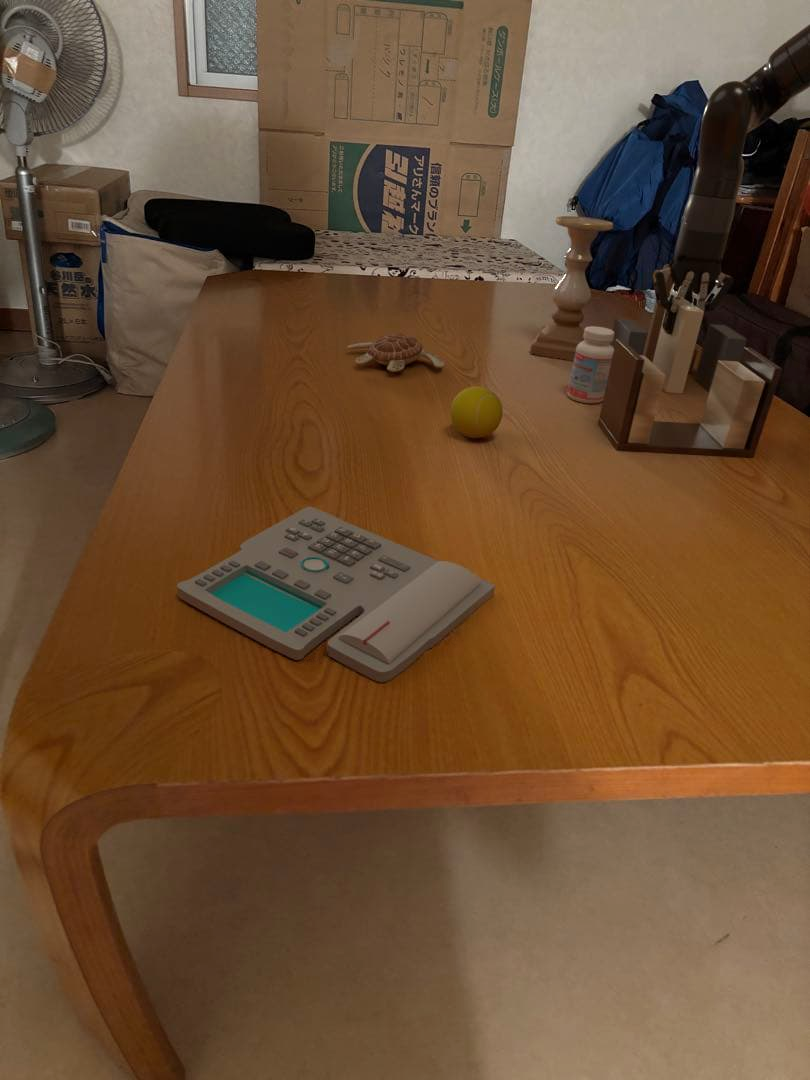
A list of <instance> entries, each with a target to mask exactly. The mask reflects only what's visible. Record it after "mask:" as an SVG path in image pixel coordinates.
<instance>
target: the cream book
mask: <svg viewBox="0 0 810 1080" xmlns="http://www.w3.org/2000/svg"><path fill="white" fill-rule="evenodd" d="M668 299H669V298H668ZM665 312H666V309H665ZM676 312H677V317H676V321H675V325H674V329H673V333H672V334H667V333H665V331H664V329H663V327H662V325H661V330H660V334H659V338H658V342H657V346H656V350H655V355H654V359H653V364H654V365H655V366H656V367H657V368H658V369H659V370H660V371H661V372H662V373H663V374H665V379H664V383H663V387H662V391H663V392H664V393H667V394H669V393H670V394H683V393H684V390H685V386H686V381H687V379H688V375H689V373H688V371H689V367H690V363H691V360H692V356H693V352H694V348H695V345H696V344H697V340H698V337H699V332H700V329H701V326H702V321H703V317H704V314H705V312H704V311H702V310H701V309H699V308H698V307H696V306H695V305H693V304H692V302H691V301H689V300H687V299H686V298H685V299H682V300H681V303H680V305H679V307H678V310H677V311H676ZM664 316H665V313H664ZM663 320H664V317H663ZM662 324H663V321H662Z"/></svg>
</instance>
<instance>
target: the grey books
mask: <svg viewBox="0 0 810 1080" xmlns="http://www.w3.org/2000/svg"><path fill="white" fill-rule="evenodd" d="M612 331H614V338H613V341H612V342H611V343H610V345H611V346H612V347H613V348H615V343H616V339H623V340H624V341H625V342H626V343H627V344H628V345H629V346H630V347H631V348H632V349H633V350H634V351H636V352H637V353H638V354H639V355H643V354H644V349H645V345H646V341H647V337H648V332H649V331H647V330H646V329H644V327H642V326H641V325H640V324H638V323H637V322H636V321H635V320H634V319H633V318H625V317H624V318H623V317H615V319H614V322H613V328H612ZM747 341H748V339H747V338H746V337H745V336H743V335H742V334H740V333H738V332H736V331H735V330H733V329H732V328H731V327H729V326H727V325H726V324H714V323H708V327H707V331H706V335H705V339H704V341H703V346H702V350H701V353H700V357H699V360H698V364H697V368H696V372H695V376H694V380H695V381H696V382H697V383H699V384H700V385H701V386H702V387H703V388H704V389H706V390H707V392H710V388H711V385H712V381H713V378H714V374H715V371H716V367H717V364H718V361H719V360H721V361H737V362H739V363H740V360H741V356H742V353H743V350H744V347H746V344H747Z"/></svg>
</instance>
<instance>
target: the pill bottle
mask: <svg viewBox="0 0 810 1080" xmlns="http://www.w3.org/2000/svg"><path fill="white" fill-rule="evenodd" d="M583 330H584V334H583V336H584V337H583V338H584V341H582V342H580V343H579V344H578V345H577V348H576V352H575V357H574V361H572V367H571V372H570V378H569V384H568V388H567V396H568V397H569V398H570V399H571V400H572V401H576V402H577V403H581V404H588V405H592V404H593V405H594V404H599V403H603V399H604V394H605V390H606V385H607V380H608V376H609V371H610V366H611V362H612V357H613V352H614V348H613V347H612V346H611V345H610V343H611V342H612V341H613V338H614V331H613V329H610V328H607V327H602V326H593V325H591V326H586V327H585V328H584V329H583Z"/></svg>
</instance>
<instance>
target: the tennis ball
mask: <svg viewBox="0 0 810 1080" xmlns="http://www.w3.org/2000/svg"><path fill="white" fill-rule="evenodd" d="M449 414H450V419H451V423H452V426H453V428H455V430H456V431H457V432H458V433H459V434H461V435H463V436H465V437H466V438H469V439H482V438H486V437H488V436H489V435H491V434H493V433H494V432H495V431H496V430H497V429H498V427H499V426H500V424H501V421H502V420H503V419H502V418H503V405H502V402H501V400H500V398H499V396H498V395H497V394H496V393H495V392H493V391H492V390H491V389H488V388H486V387H483V386H478V385H477V386H475V385H473V386H469V387H466V388H464V389H462V390H461V391H459V392H458V393H457V394H456V396H455V397H454V398H453V400H452V403H451V406H450V413H449Z"/></svg>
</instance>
